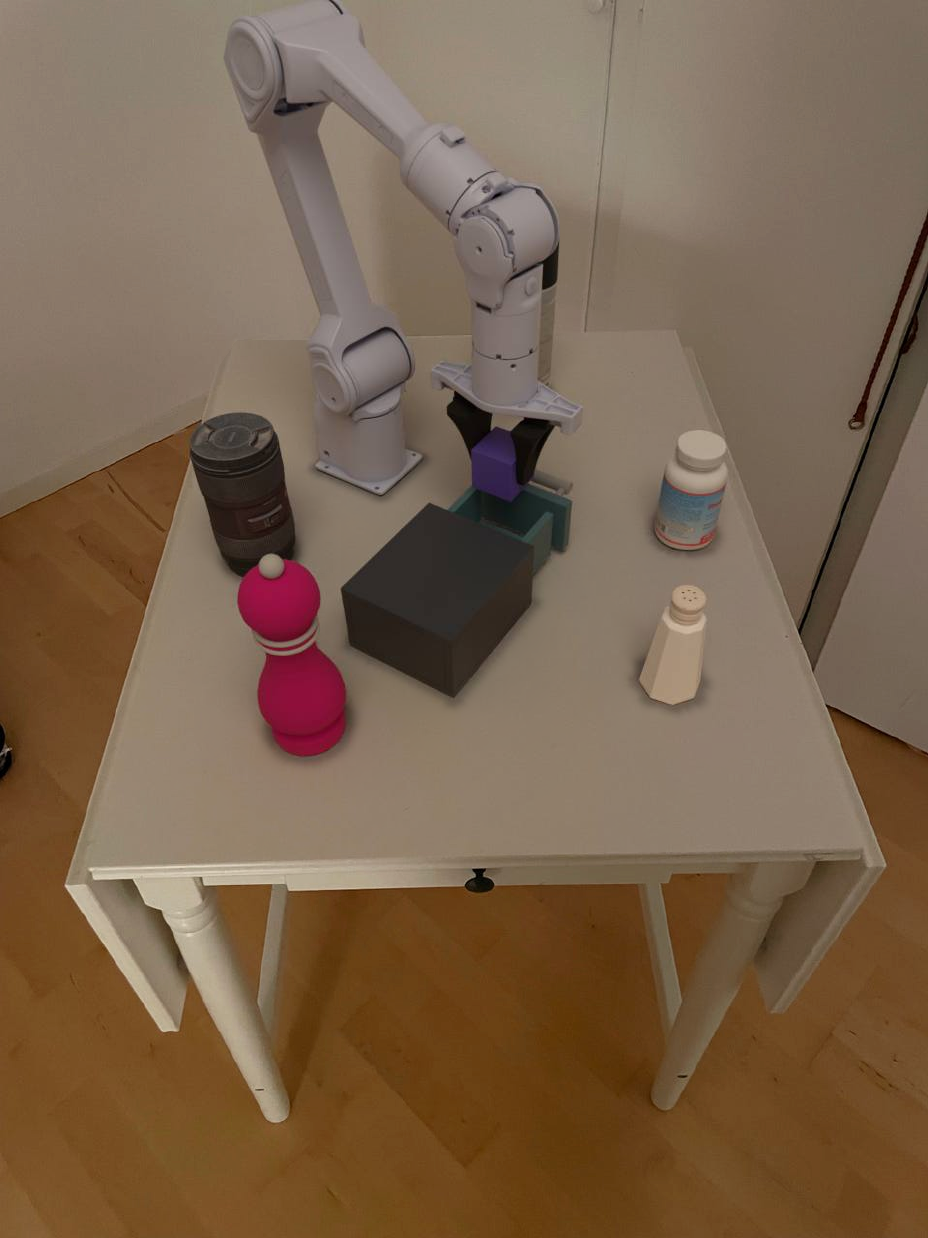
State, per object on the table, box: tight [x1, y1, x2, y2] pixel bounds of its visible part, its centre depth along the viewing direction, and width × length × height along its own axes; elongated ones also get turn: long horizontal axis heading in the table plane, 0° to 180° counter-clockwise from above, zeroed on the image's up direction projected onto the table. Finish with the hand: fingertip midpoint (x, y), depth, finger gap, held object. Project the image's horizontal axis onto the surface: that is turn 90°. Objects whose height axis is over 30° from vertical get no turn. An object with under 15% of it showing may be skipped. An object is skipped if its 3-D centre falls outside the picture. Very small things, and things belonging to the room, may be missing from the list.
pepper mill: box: [236, 554, 347, 757], centre depth 71 cm, size 7×7×20 cm
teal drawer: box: [446, 467, 574, 575], centre depth 90 cm, size 17×10×6 cm, turn 147°
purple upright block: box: [470, 425, 534, 502], centre depth 87 cm, size 4×4×4 cm
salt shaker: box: [638, 584, 708, 706], centre depth 77 cm, size 5×5×11 cm
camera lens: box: [189, 411, 296, 578], centre depth 88 cm, size 8×8×15 cm
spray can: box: [537, 236, 561, 389], centre depth 105 cm, size 7×7×20 cm
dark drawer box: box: [340, 502, 534, 699], centre depth 84 cm, size 14×12×8 cm
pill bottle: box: [654, 429, 729, 551], centre depth 91 cm, size 6×6×11 cm
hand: (503, 470), depth 87 cm, fingers closed on purple upright block, 4 cm apart
